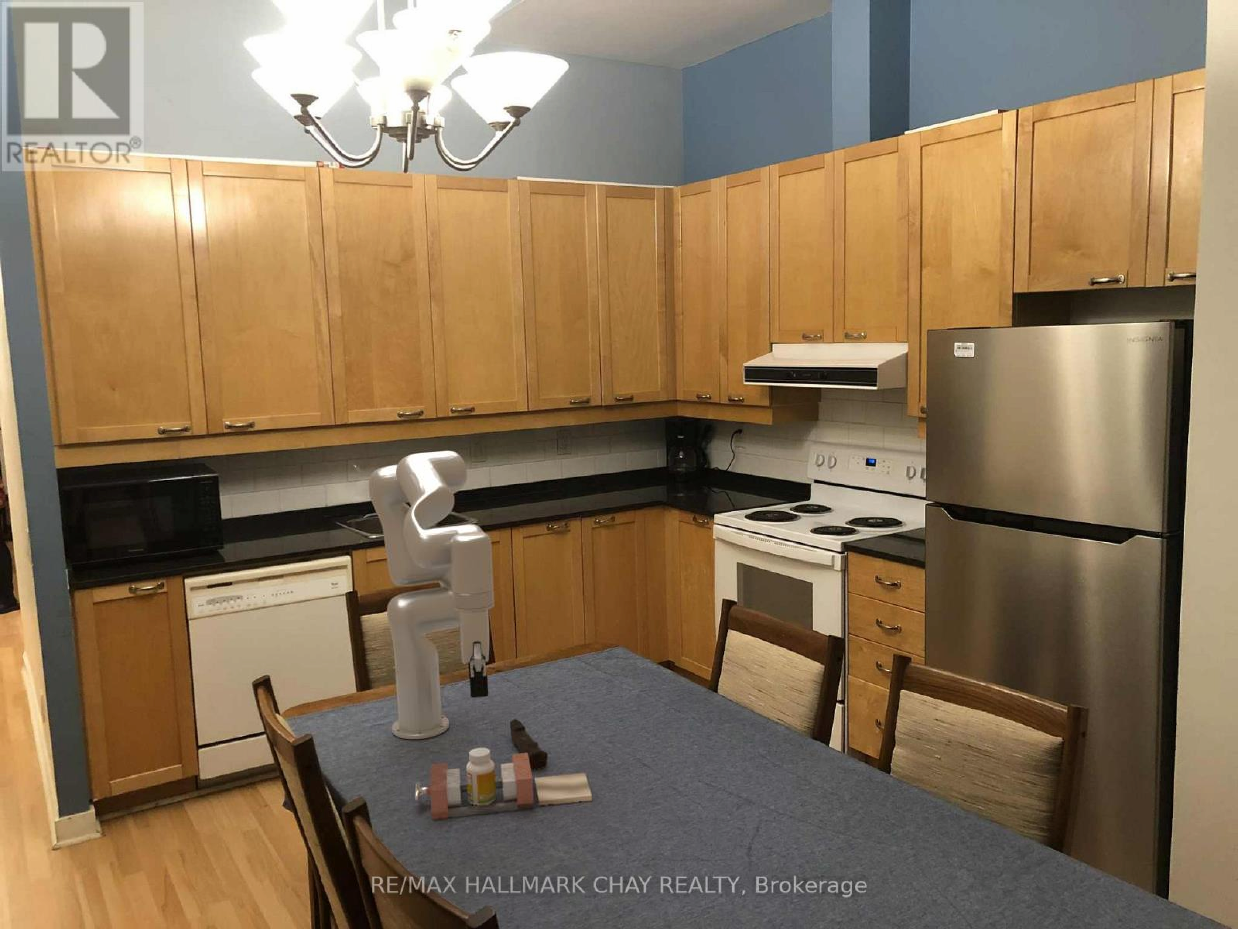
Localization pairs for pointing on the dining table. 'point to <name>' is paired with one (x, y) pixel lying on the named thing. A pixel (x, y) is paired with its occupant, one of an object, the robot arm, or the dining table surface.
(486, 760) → the supplement bottle
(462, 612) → the robot arm
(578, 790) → the birch board
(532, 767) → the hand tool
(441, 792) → the vise
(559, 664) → the dining table surface
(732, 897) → the dining table surface
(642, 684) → the dining table surface
